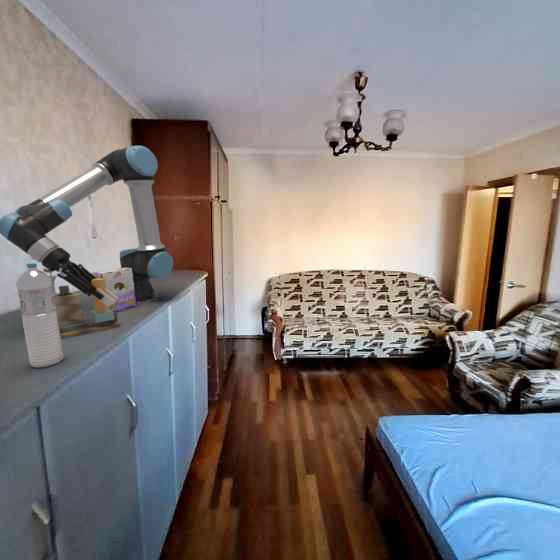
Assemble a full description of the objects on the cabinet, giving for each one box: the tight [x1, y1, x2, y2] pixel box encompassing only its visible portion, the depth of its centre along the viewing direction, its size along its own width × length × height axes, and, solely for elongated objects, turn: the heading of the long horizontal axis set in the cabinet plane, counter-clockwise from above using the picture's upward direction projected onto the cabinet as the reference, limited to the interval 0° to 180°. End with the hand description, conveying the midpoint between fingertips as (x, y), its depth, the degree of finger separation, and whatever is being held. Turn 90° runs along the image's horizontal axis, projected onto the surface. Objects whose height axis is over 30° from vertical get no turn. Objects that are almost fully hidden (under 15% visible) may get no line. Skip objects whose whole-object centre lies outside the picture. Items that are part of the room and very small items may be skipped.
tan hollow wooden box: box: [54, 290, 85, 327], centre depth 108 cm, size 8×8×10 cm
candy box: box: [91, 267, 137, 313], centre depth 122 cm, size 14×6×16 cm, turn 154°
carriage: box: [90, 278, 115, 323], centre depth 101 cm, size 5×7×14 cm
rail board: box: [59, 312, 121, 340], centre depth 99 cm, size 18×7×4 cm, turn 132°
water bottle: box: [15, 262, 65, 369], centre depth 74 cm, size 7×7×25 cm
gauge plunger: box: [58, 284, 71, 296], centre depth 107 cm, size 3×3×6 cm
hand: (113, 302), depth 102 cm, fingers closed on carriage, 3 cm apart
